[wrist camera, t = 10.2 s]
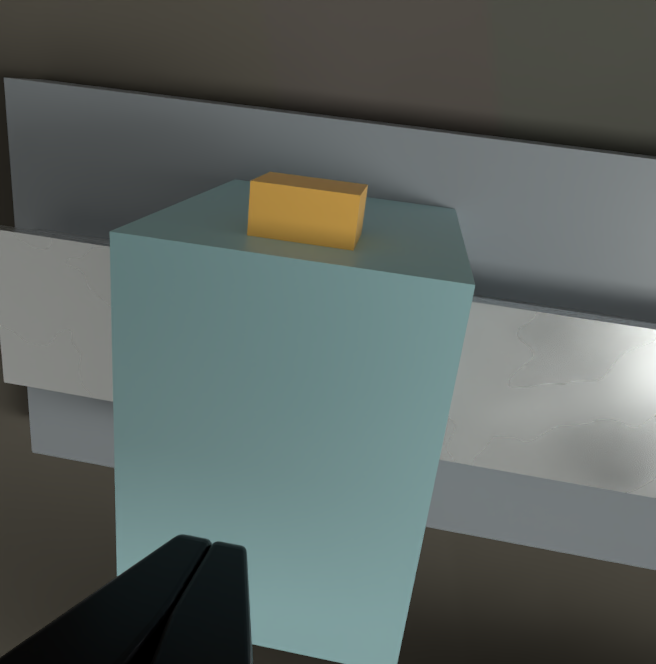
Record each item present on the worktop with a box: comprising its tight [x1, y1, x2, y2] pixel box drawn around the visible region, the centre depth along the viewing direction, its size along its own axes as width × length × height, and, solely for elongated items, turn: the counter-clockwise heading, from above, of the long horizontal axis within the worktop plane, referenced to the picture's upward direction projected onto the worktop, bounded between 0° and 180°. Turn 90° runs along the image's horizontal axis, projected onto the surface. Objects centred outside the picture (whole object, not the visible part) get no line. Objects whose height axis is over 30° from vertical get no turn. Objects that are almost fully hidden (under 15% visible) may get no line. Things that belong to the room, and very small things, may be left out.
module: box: [110, 172, 475, 664], centre depth 12 cm, size 5×8×6 cm, turn 174°
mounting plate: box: [4, 77, 656, 570], centre depth 16 cm, size 20×10×2 cm, turn 84°
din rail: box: [0, 225, 656, 498], centre depth 14 cm, size 19×4×2 cm, turn 84°
